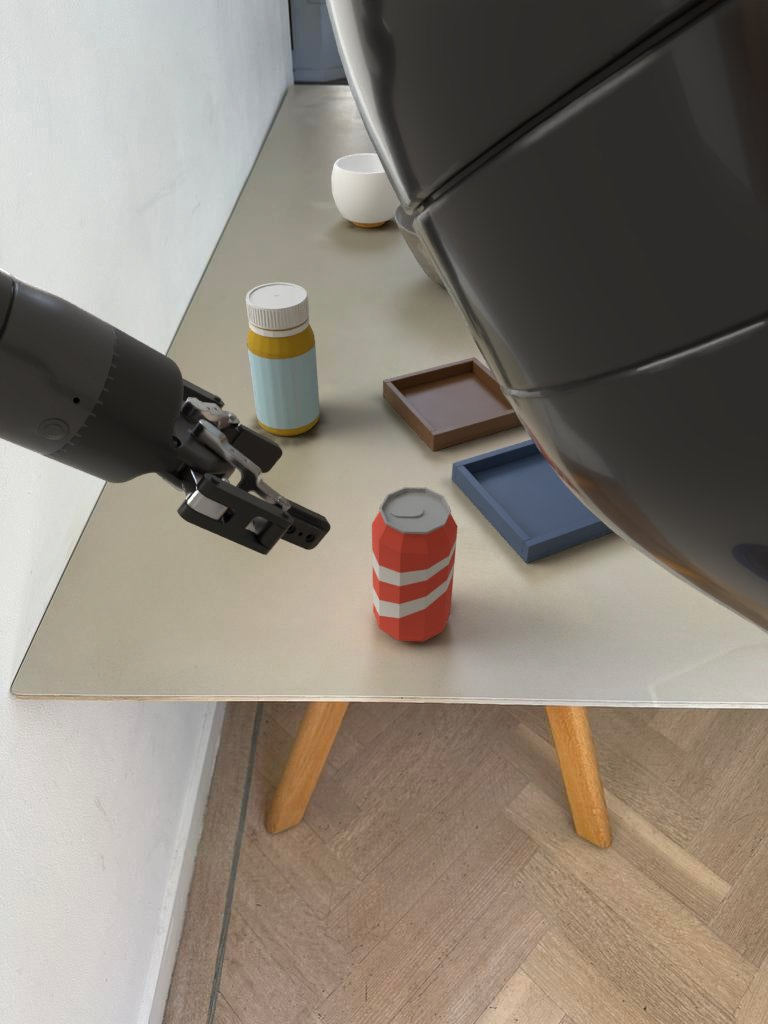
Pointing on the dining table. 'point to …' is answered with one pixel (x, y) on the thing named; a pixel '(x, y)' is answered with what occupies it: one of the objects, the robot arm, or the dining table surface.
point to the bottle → (282, 358)
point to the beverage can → (413, 563)
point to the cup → (363, 190)
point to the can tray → (526, 501)
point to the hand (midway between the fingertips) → (295, 495)
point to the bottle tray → (451, 403)
